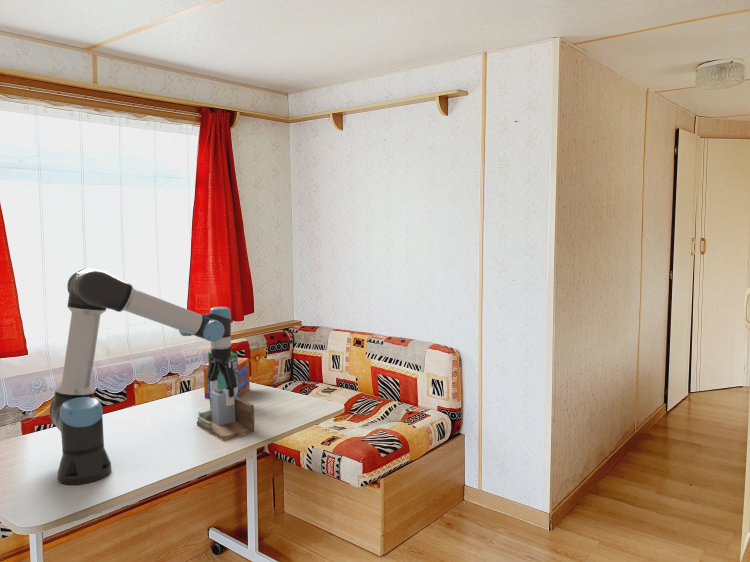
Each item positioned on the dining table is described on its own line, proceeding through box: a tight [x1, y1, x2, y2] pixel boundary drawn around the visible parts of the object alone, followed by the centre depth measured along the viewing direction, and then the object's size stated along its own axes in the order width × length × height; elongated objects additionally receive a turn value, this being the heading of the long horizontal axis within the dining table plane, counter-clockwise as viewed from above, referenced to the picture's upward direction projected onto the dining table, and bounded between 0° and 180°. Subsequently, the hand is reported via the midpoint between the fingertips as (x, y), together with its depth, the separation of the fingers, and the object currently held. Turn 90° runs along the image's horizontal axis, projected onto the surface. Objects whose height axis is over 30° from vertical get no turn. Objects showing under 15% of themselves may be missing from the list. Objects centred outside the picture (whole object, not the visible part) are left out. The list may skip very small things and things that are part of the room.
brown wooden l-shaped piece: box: [196, 397, 256, 441], centre depth 221 cm, size 13×22×10 cm, turn 41°
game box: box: [203, 357, 251, 399], centre depth 266 cm, size 16×16×16 cm
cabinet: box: [211, 389, 236, 426], centre depth 224 cm, size 7×6×13 cm
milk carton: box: [207, 350, 239, 410], centre depth 246 cm, size 9×9×25 cm
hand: (222, 401), depth 224 cm, fingers open, 13 cm apart
